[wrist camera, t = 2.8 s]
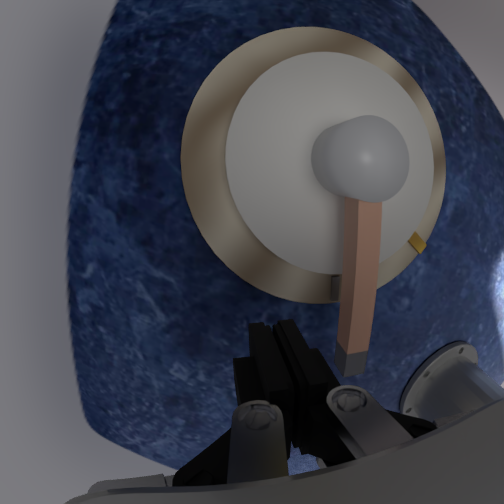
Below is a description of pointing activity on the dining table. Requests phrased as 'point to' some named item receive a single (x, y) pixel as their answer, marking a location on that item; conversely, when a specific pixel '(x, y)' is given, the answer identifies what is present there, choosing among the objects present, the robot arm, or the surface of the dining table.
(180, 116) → the dining table surface
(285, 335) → the robot arm
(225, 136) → the dial base
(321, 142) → the dial
